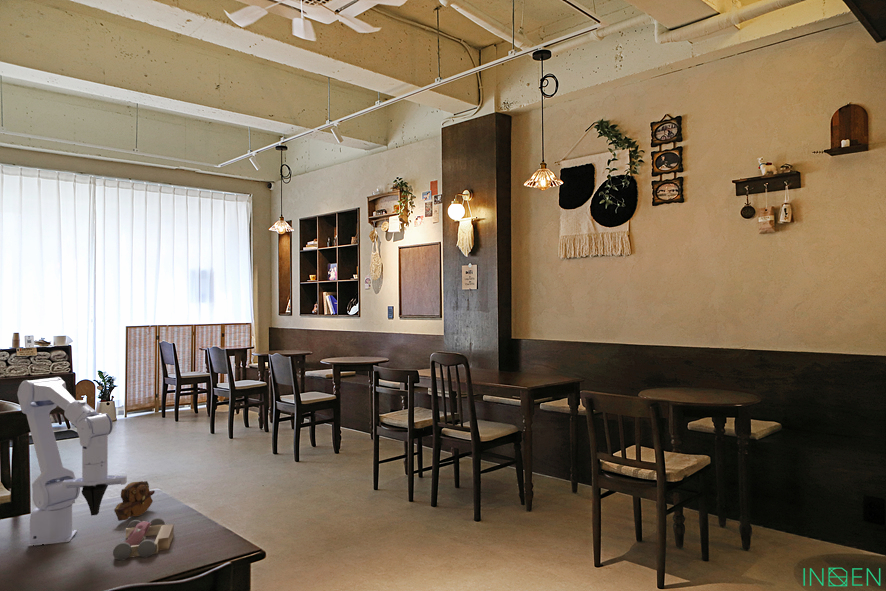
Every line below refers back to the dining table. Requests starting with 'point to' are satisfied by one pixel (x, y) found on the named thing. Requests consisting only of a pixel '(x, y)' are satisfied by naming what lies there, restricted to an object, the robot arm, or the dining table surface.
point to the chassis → (146, 546)
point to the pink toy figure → (138, 533)
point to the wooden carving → (134, 500)
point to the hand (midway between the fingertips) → (95, 514)
